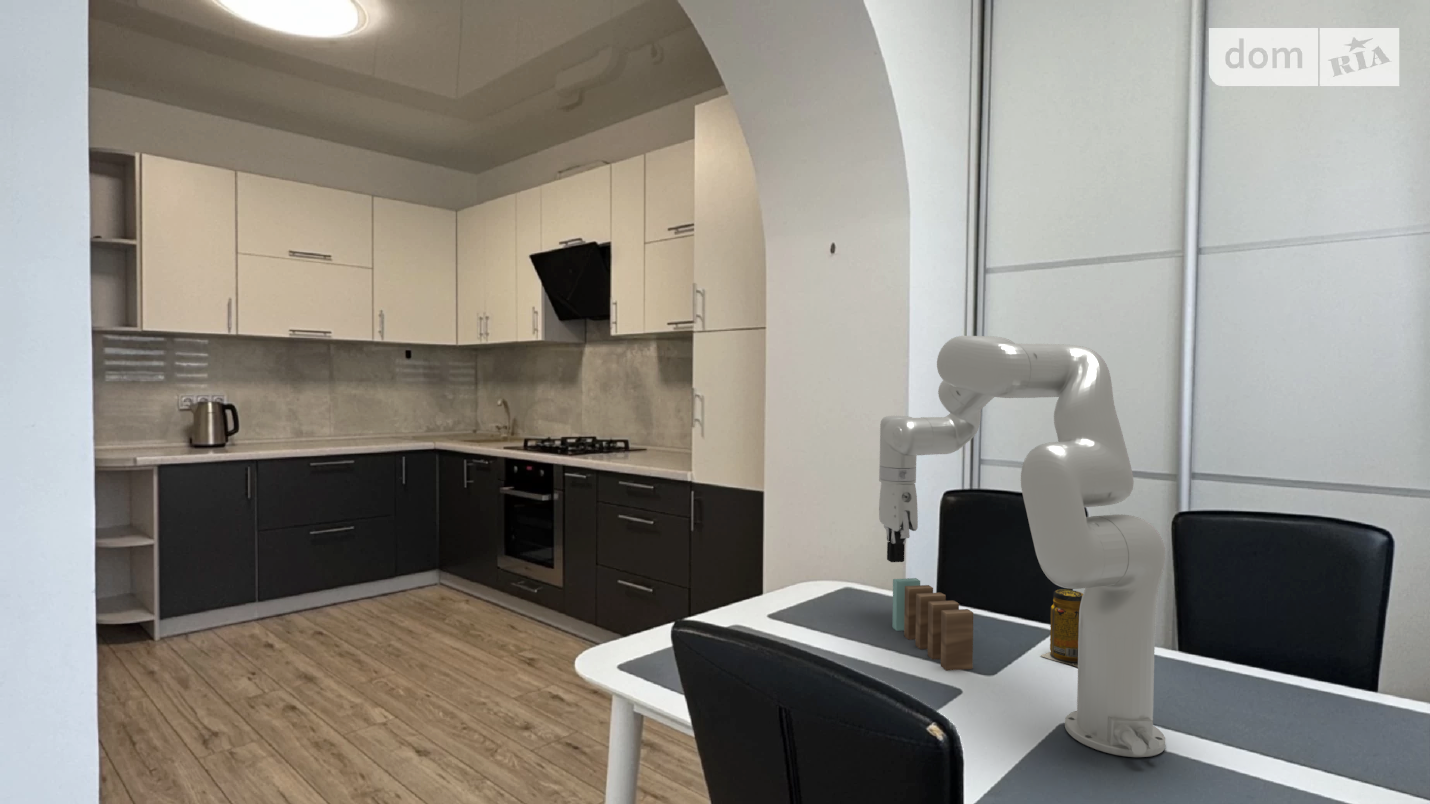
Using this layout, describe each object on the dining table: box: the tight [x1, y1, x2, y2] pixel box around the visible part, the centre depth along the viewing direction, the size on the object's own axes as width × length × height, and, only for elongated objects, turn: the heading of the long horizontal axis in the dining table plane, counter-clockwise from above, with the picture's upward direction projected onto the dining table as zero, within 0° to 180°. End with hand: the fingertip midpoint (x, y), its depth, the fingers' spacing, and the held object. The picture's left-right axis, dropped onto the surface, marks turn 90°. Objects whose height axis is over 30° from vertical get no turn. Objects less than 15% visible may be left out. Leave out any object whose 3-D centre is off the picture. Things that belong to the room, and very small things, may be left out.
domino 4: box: [927, 600, 960, 660], centre depth 137 cm, size 2×5×10 cm, turn 99°
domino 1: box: [892, 577, 921, 632], centre depth 152 cm, size 2×5×10 cm, turn 99°
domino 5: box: [940, 608, 974, 671], centre depth 131 cm, size 2×5×10 cm, turn 100°
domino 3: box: [915, 592, 947, 650], centre depth 142 cm, size 2×5×10 cm, turn 100°
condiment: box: [1040, 588, 1084, 668], centre depth 136 cm, size 7×8×12 cm
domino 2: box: [903, 584, 934, 641], centre depth 147 cm, size 2×5×10 cm, turn 100°
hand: (895, 560), depth 158 cm, fingers closed
